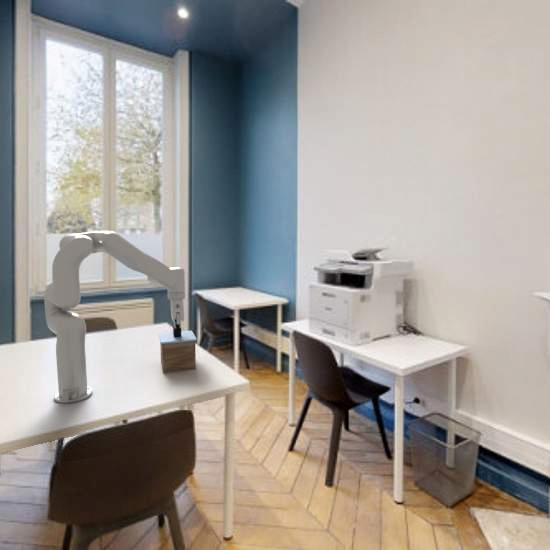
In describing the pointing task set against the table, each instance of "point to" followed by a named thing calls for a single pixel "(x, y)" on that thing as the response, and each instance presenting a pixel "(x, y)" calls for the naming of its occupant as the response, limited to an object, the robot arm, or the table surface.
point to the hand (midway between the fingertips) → (177, 335)
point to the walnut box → (178, 356)
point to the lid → (169, 337)
